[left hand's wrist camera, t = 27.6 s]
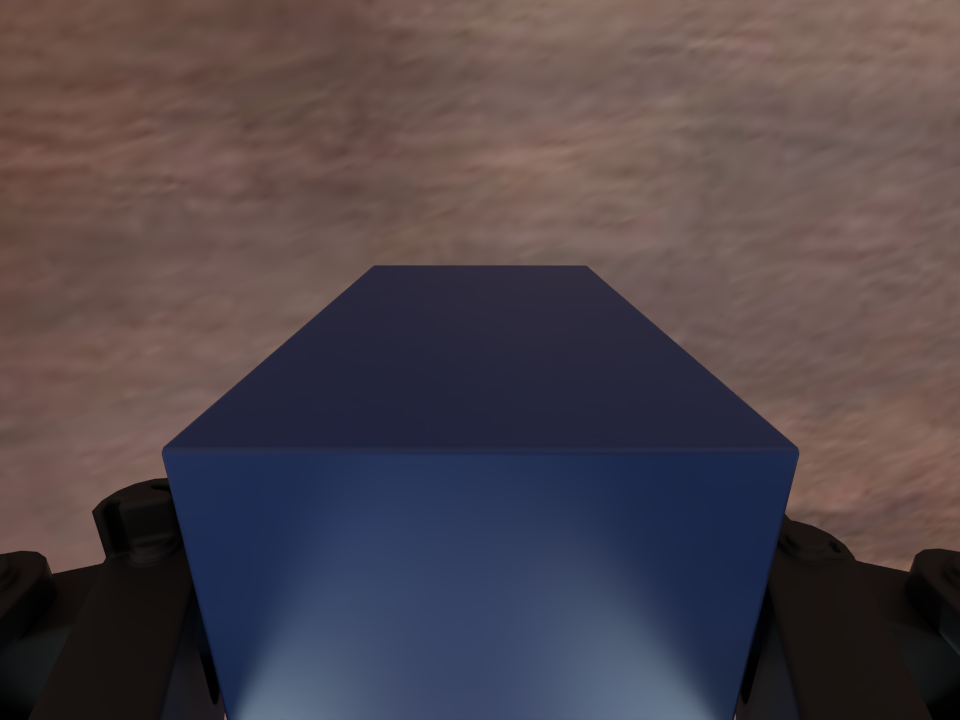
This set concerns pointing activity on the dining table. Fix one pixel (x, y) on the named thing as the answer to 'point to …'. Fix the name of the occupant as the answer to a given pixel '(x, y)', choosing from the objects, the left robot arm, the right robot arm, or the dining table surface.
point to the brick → (480, 510)
